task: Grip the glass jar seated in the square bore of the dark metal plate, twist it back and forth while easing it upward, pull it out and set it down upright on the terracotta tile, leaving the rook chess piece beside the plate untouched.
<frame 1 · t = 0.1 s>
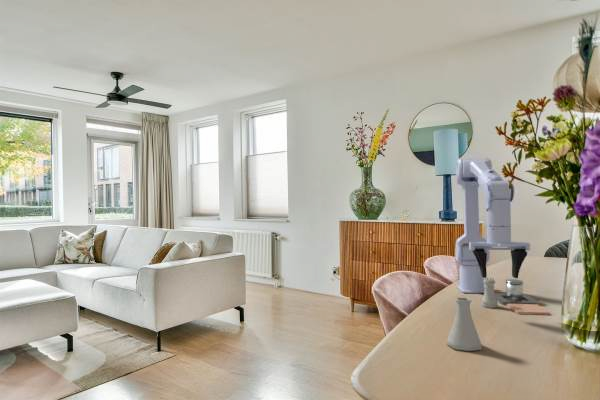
hand: (499, 277, 104), 10 cm above the table, tool pointing down, fingers open, 7 cm apart
tile: (527, 310, 108), on the table
flask: (464, 346, 84), on the table
bore plate: (514, 300, 118), on the table
glass jar: (514, 300, 118), resting in bore plate
rook chess piece: (489, 307, 113), on the table
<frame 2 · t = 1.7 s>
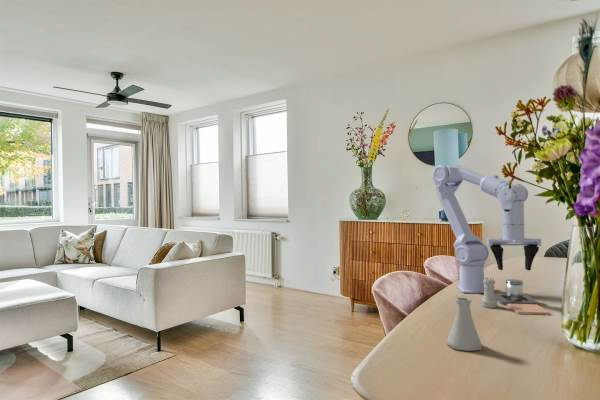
hand: (514, 269, 118), 9 cm above the table, tool pointing down, fingers open, 7 cm apart
nothing on the table moved.
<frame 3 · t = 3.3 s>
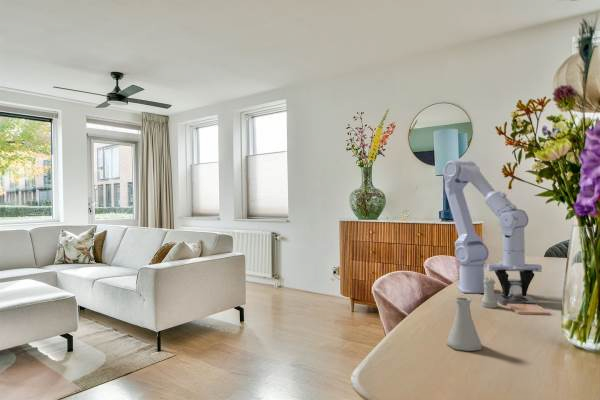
hand: (514, 295, 118), 2 cm above the table, tool pointing down, fingers closed on glass jar, 4 cm apart
glass jar: (514, 300, 118), resting in bore plate, touching gripper
everything else where it was.
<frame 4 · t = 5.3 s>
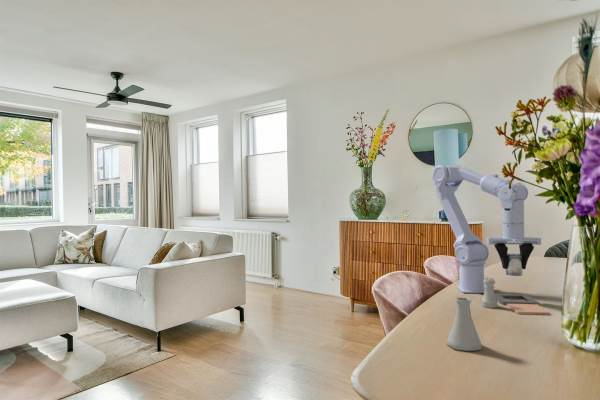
hand: (513, 268, 118), 10 cm above the table, tool pointing down, fingers closed on glass jar, 4 cm apart
glass jar: (514, 274, 118), point 8 cm above the table, touching gripper
everything else where it was.
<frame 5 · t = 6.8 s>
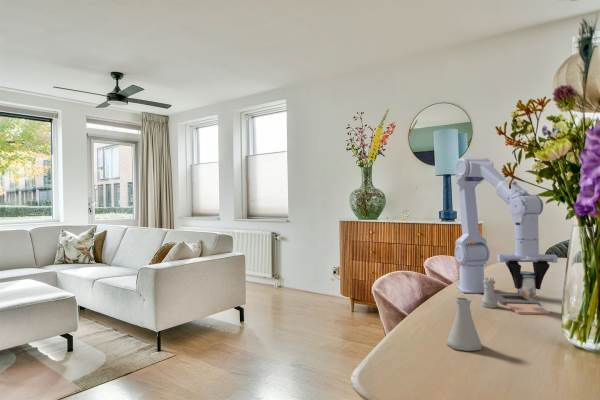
hand: (527, 288, 108), 6 cm above the table, tool pointing down, fingers closed on glass jar, 4 cm apart
glass jar: (526, 294, 109), point 4 cm above the table, touching gripper
everything else where it was.
when the fingers open (3 cm above the table, at t = 7.8 s): glass jar stays where it is, resting on tile.
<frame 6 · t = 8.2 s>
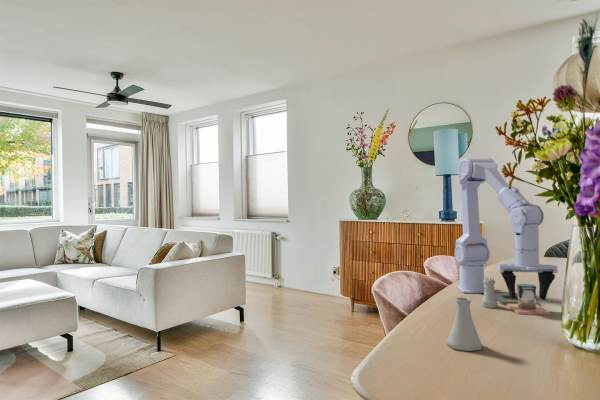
hand: (527, 298, 108), 3 cm above the table, tool pointing down, fingers open, 7 cm apart
glass jar: (526, 307, 109), point 1 cm above the table, touching tile
everything else where it was.
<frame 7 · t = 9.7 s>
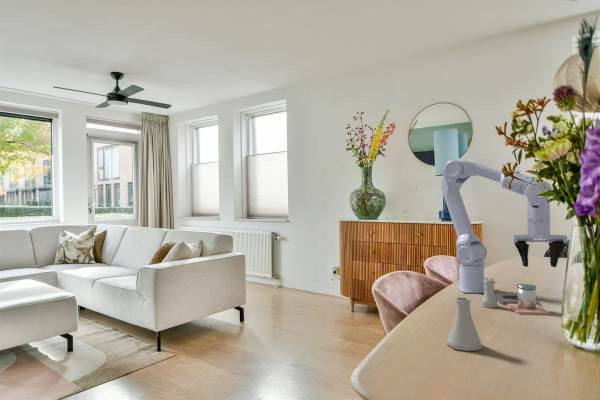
hand: (539, 266, 117), 10 cm above the table, tool pointing down, fingers open, 7 cm apart
nothing on the table moved.
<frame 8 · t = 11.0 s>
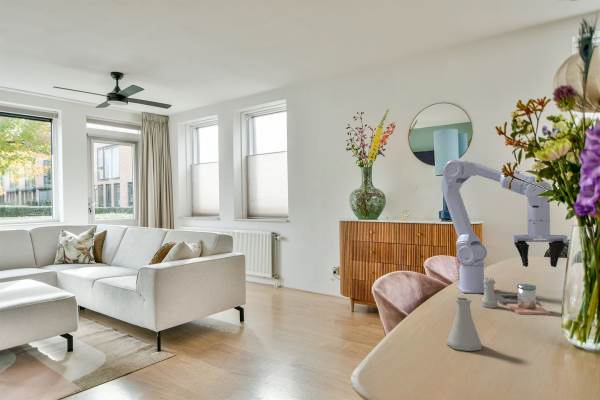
hand: (539, 266, 117), 10 cm above the table, tool pointing down, fingers open, 7 cm apart
nothing on the table moved.
at the end: glass jar inside the target area on the tile (0.6 cm from its centre), point 0.6 cm above the tile's base; glass jar tilted 0°; the gripper is holding nothing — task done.
